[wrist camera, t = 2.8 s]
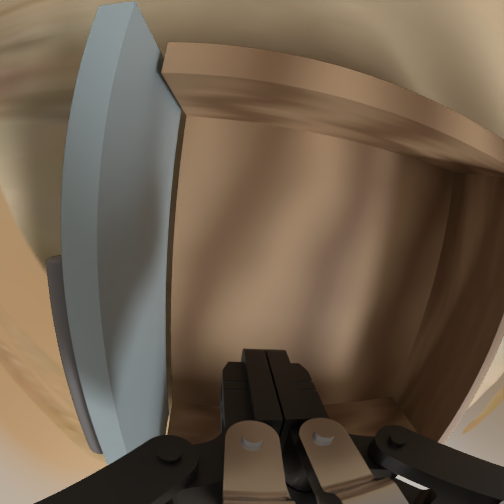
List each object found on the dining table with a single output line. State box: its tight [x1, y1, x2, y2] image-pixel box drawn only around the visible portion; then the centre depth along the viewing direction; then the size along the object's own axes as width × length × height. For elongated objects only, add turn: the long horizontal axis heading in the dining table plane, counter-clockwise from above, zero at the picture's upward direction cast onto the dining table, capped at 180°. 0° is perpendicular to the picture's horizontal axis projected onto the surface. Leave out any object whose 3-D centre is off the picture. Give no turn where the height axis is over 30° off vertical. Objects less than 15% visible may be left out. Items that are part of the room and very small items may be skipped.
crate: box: [161, 42, 504, 445], centre depth 16 cm, size 20×22×9 cm
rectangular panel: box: [46, 1, 182, 465], centre depth 12 cm, size 2×22×10 cm, turn 173°
